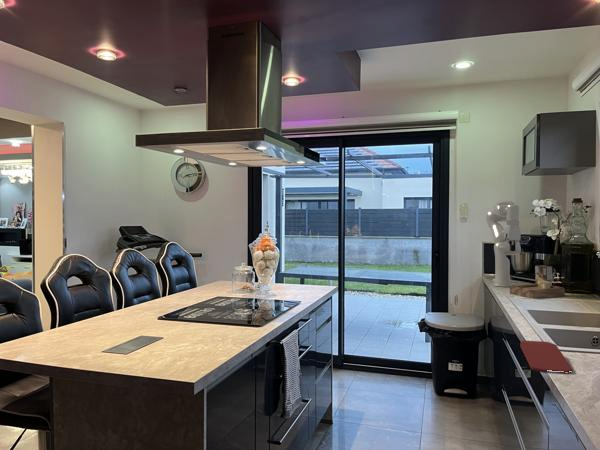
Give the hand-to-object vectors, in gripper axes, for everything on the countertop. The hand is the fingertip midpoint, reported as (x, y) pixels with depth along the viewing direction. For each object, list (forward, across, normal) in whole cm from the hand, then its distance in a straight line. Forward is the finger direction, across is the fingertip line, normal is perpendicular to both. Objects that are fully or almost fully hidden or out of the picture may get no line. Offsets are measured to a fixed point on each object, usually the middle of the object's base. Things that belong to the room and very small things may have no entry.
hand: (512, 250), depth 303 cm
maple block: (+24, -14, +12) cm, 30 cm away
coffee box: (+27, -25, +2) cm, 37 cm away
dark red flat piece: (+28, +98, +116) cm, 154 cm away
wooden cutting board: (+27, -5, +15) cm, 31 cm away
